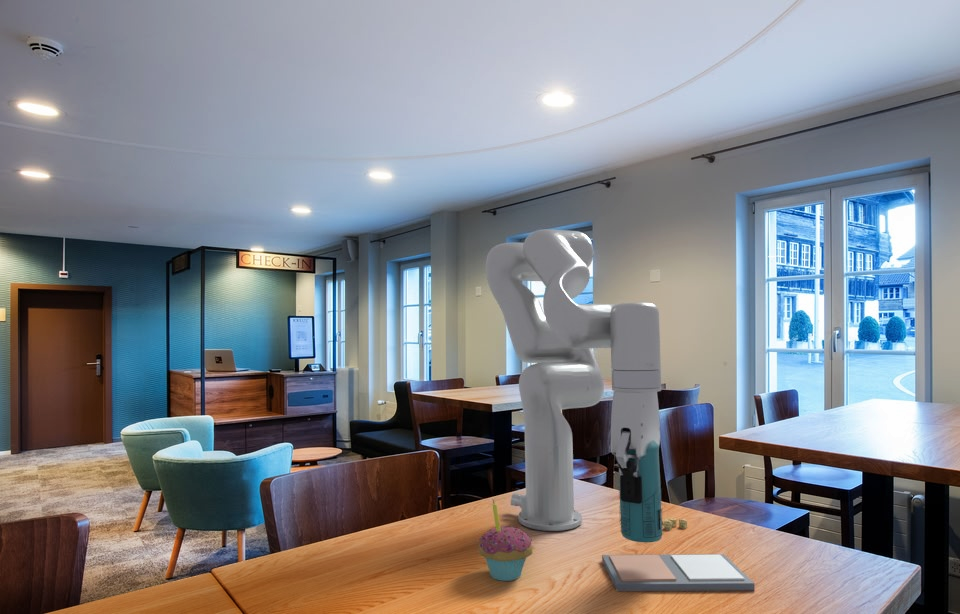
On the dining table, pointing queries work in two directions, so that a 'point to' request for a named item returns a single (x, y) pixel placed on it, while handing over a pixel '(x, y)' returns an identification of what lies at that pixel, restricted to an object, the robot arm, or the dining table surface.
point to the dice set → (674, 523)
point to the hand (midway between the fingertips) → (639, 495)
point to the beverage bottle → (644, 502)
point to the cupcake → (505, 550)
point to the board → (675, 573)
